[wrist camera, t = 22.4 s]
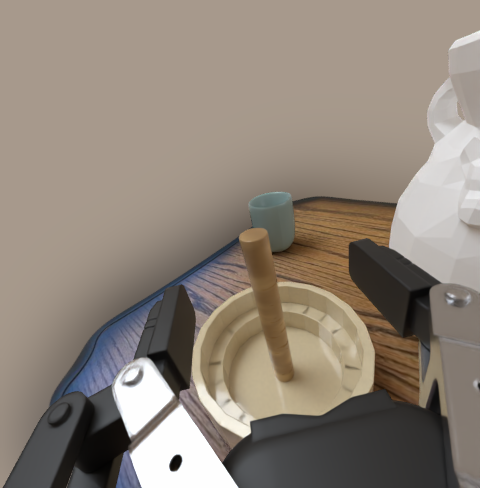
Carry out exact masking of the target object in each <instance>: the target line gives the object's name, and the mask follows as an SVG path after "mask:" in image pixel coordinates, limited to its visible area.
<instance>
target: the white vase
mask: <svg viewBox="0 0 480 488" xmlns="http://www.w3.org/2000/svg"><path fill="white" fill-rule="evenodd" d="M448 60H449V76H450V78H448V79H447V80H446V81H445V82H444V83H443V84H442V86H441V87H440V88H439V89H438V91H437V92H436V93H435V94H434V96H433V98H432V100H431V103H430V106H429V108H428V110H427V119H428V120H427V123H428V128H429V131H430V133H431V136H432V138H433V141H434V143H435V145H434V148H433V150H432V152H431V155H430V157H429V160H428V161H427V162H426V164H425V165H424V166H423V167H422V168H421V169H420V170H419V171H418V173H416V175H415V176H414V178H413V179H412V181H411V182H410V184H409V185H408V187H407V188H406V190H405V191H404V193H403V194H402V196H401V197H400V198H399V200H398V204H397V208H396V211H395V215H394V219H393V222H392V227H391V234H390V242H389V248H390V249H393V250H395V251H397V252H398V253H400V254H401V255H403V256H404V258H407V259H408V260H410V261H411V262H412V264H415V265H417V266H418V267H420V268H421V269H423V270H424V271H426V272H427V273H428V274H430V275H431V276H433V277H434V278H436V279H437V280H438V281H440V282H441V283H453V284H459V285H463V286H466V287H469V288H471V289H474V290H476V291H477V292H479V293H480V31H478V32H475V33H473V34H470V35H468V36H466V37H463V38H461V39H458V40H456V41H455V42H454V43H453V44H452V46H451V47H450V48H449V50H448ZM458 101H459V104H460V107H461V110H462V112H463V115H464V118H465V120H464V121H463V120H462V119H461V118H460V117H459V116H458V111H457V102H458Z"/></svg>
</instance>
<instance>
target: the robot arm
mask: <svg viewBox="0 0 480 488" xmlns="http://www.w3.org/2000/svg"><path fill="white" fill-rule="evenodd" d="M349 273H350V276H351V279H352V280H353V282H354V283H355V284H356V285H357V286H358V288H359V289H360V290H361V291H362V292H363V293H364V294H365V295H366V297H367V298H368V299H369V300H370V301H371V302H372V303H373V305H374V306H375V307H376V308H377V309H378V310H379V311H380V312H381V314H382V315H383V316H384V317H385V318H386V319H387V320H388V321H389V323H390V324H391V325H392V326H393V327H394V328H395V329H396V330H397V332H398V333H399V334H400V335H401V336H402V337H403V338H404V337H408V336H412V335H416V336H417V337H418V339H419V343H418V352H419V380H420V395H419V405H418V406H417V405H414V404H410V403H407V402H402V401H396V400H392V399H391V397H390V396H389V394H388V393H387V391H386V390H385V389H383V390H379V391H375V392H370V393H366V394H362V395H358V396H354V397H351V398H349V399H348V400H346V401H344V402H343V403H341V404H339V405H338V406H336V407H335V408H333V409H331V410H330V411H328V412H326V413H325V414H323V415H319V416H315V415H299V414H279V415H274V416H270V417H266V418H262V419H258V420H253V421H250V428H251V433H250V434H249V435H247V436H245V437H244V438H243V439H242V440H241V441H239V442H238V443H237V444H236V445H235V446H234V447H233V448H232V450H231V451H230V452H229V454H228V455H227V456H226V458H225V459H224V461H223V463H221V462H220V460H219V459H218V457H217V456H216V454H215V453H214V451H213V450H212V448H211V447H210V445H209V444H208V442H207V441H206V440H205V438H204V437H203V435H202V434H201V432H200V431H199V429H198V428H197V426H196V425H195V423H194V422H193V420H192V419H191V417H190V416H189V415H188V413H187V412H186V410H185V409H184V407H183V406H182V404H181V403H180V401H179V394H180V391H182V390H186V389H189V388H190V377H191V366H192V356H193V345H194V334H195V323H196V317H195V311H194V308H193V306H192V303H191V301H190V299H189V297H188V294H187V292H186V290H185V288H184V286H183V285H178V286H174V287H170V288H166V289H165V292H164V296H163V299H162V301H158V302H156V304H155V305H154V306H153V308H152V309H151V310H150V312H149V315H148V318H147V322H146V324H145V327H144V330H143V333H142V336H141V339H140V342H139V345H138V347H137V350H136V353H135V356H134V359H133V361H131V362H129V363H128V364H126V365H125V366H124V367H123V368H122V369H121V370H120V371H119V372H118V374H117V375H116V377H115V379H114V381H113V383H112V385H110V386H108V387H107V388H105V389H103V390H101V391H99V392H97V393H96V394H94V395H92V396H90V397H88V398H87V397H86V396H85V395H84V394H83V393H82V392H79V391H75V392H71V393H69V394H66V395H65V396H63V397H61V398H60V399H58V400H57V401H56V402H55V403H54V404H52V405H51V406H50V407H49V408H48V410H47V411H46V412H45V413H44V414H43V416H42V417H41V419H40V421H39V422H38V424H37V426H36V428H35V429H34V431H33V433H32V435H31V437H30V439H29V440H28V442H27V444H26V446H25V448H24V450H23V451H22V453H21V455H20V457H19V459H18V461H17V462H16V464H15V466H14V468H13V470H12V472H11V473H10V475H9V477H8V479H7V481H6V483H5V485H4V486H3V488H66V487H67V488H116V484H117V479H118V475H119V471H120V466H121V462H122V458H123V453H124V452H125V451H127V450H129V454H130V457H131V459H132V462H133V465H134V467H135V470H136V473H137V475H138V478H139V481H140V484H141V486H142V488H480V293H479V292H477V291H476V290H474V289H471V288H469V287H466V286H463V285H459V284H453V283H441V282H440V281H438V280H437V279H436V278H434V277H433V276H431V275H430V274H428V273H427V272H426V271H424V270H423V269H421V268H420V267H418V266H417V265H415V264H412V262H411V261H410V260H408V259H407V258H404V256H403V255H401V254H400V253H398V252H397V251H395V250H393V249H390V248H387V247H385V246H378V245H377V244H375V243H374V242H373V241H371V240H370V239H368V238H366V239H362V240H358V241H354V242H351V243H350V244H349ZM74 466H75V467H74ZM73 468H74V469H73ZM72 470H73V472H72ZM71 473H72V475H71ZM70 476H71V477H70ZM69 478H70V480H69ZM68 481H69V483H68ZM67 484H68V486H67Z"/></svg>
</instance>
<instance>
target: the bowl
mask: <svg viewBox="0 0 480 488" xmlns="http://www.w3.org/2000/svg"><path fill="white" fill-rule="evenodd" d="M277 284H278V289H279V294H280V299H281V305H282V310H283V315H284V320H285V326H286V331H287V336H288V341H289V347H290V352H291V357H292V363H293V368H294V376H293V378H292V379H291V380H290V381H288V382H281V381H279V380H278V379H277V378H276V377H275V374H274V370H273V367H272V363H271V359H270V355H269V351H268V347H267V344H266V340H265V336H264V332H263V328H262V324H261V321H260V317H259V313H258V309H257V305H256V301H255V298H254V294H253V290H252V287H251V288H248V289H246V290H244V291H242V292H240V293H238V294H236V295H234V296H232V297H230V298H229V299H228V300H227V301H225V302H224V303H223V304H222V305H220V306H219V307H218V308H217V309H216V310H215V311H214V312H213V313H212V314H211V316H210V317H209V318H208V320H207V321H206V322H205V324H204V325H203V326H202V328H201V329H200V332H199V335H198V337H197V340H196V342H195V345H194V348H193V358H192V377H193V380H194V384H195V387H196V390H197V394H198V397H199V400H200V402H201V404H202V405H203V407H204V409H205V411H206V412H207V414H208V416H209V418H210V419H211V421H212V423H213V425H214V426H215V428H216V430H217V431H218V433H219V434H220V436H221V437H222V438H223V440H224V441H225V442H226V443H227V445H228V446H229V447H230V449H231V450H232V448H233V447H234V446H235V445H236V444H237V443H238V442H239V441H241V440H242V439H243V438H244V437H245V436H247V435H249V434H250V433H251V428H250V421H253V420H258V419H262V418H266V417H270V416H274V415H279V414H299V415H315V416H319V415H323V414H325V413H326V412H328V411H330V410H331V409H333V408H335V407H336V406H338V405H339V404H341V403H343V402H344V401H346V400H348V399H349V398H351V397H354V396H358V395H362V394H366V393H370V392H373V386H374V368H375V350H374V347H373V344H372V342H371V339H370V336H369V333H368V330H367V327H366V326H365V324H364V323H363V322H362V321H361V319H360V318H359V317H358V316H357V314H356V313H355V312H354V311H353V309H352V308H351V307H350V306H349V305H348V304H346V303H345V302H343V301H342V300H341V299H339V298H338V297H336V296H335V295H333V294H332V293H330V292H328V291H325V290H323V289H320V288H317V287H315V286H312V285H308V284H301V283H294V282H277Z"/></svg>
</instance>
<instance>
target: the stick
mask: <svg viewBox="0 0 480 488" xmlns="http://www.w3.org/2000/svg"><path fill="white" fill-rule="evenodd" d="M239 240H240V244H241V248H242V252H243V255H244V259H245V263H246V267H247V271H248V275H249V278H250V282H251V286H252V290H253V294H254V298H255V301H256V305H257V309H258V313H259V317H260V321H261V324H262V328H263V332H264V336H265V340H266V344H267V347H268V351H269V355H270V359H271V363H272V367H273V370H274V374H275V377H276V378H277V379H278V380H279V381H281V382H288V381H290V380H291V379H292V378H293V376H294V368H293V363H292V357H291V352H290V347H289V341H288V336H287V331H286V326H285V320H284V315H283V310H282V305H281V299H280V294H279V289H278V284H277V278H276V273H275V268H274V263H273V257H272V252H271V247H270V242H269V236H268V232H267V230H266V229H263V228H252V229H249V230H246V231H244V232H243V233H241V234H240V236H239Z"/></svg>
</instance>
